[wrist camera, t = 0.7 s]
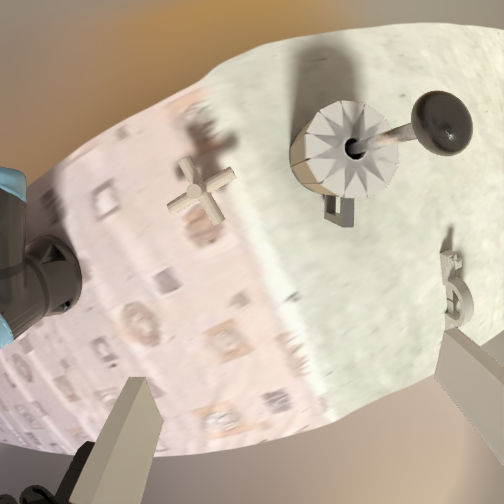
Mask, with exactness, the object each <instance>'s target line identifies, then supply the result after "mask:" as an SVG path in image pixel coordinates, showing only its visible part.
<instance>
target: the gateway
mask: <svg viewBox="0 0 504 504" xmlns="http://www.w3.org/2000/svg"><path fill="white" fill-rule="evenodd" d="M439 254H440V261H441V270H442V280H443V285H445V286H446V297H448V298H449V299H451V300H453V291H454V292H455V293H456V295H457V297H458V299H459V302H460V306H461V314H460V313H458V312H457V311H456V310H454V304H453V302H452V301H450V300H449V299H447V311H448V312H446V313H445V330H448V329H451V328H454V327H456V328H458V327H460V326H462V325H464V324H465V323H467V322H469V321H470V320H471V318H472V316H473V312H474V304H473V299H472V295H471V292H470V290H469V288H468V286H467V285H466V283H465V282H464V281H463V280H461V279H460V278H458V277H456V271H455V269H458V268H460V267H462V257H461V258H459V259H457V253H456V252H454V251H452V250H449V249H448V250H445V251H443V252H441V253H439Z"/></svg>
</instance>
